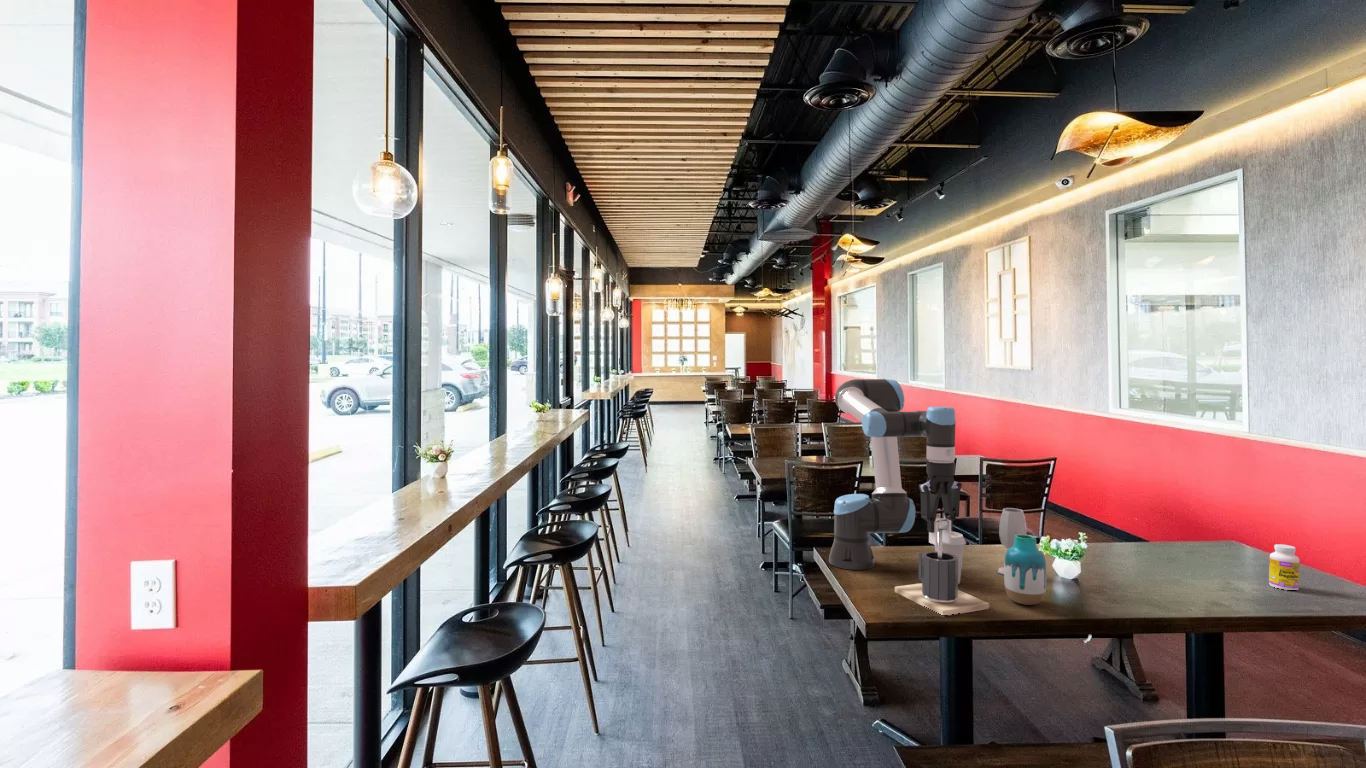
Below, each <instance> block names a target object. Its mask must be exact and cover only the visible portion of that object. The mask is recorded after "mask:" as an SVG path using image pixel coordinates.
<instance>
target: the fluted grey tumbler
mask: <svg viewBox="0 0 1366 768" xmlns="http://www.w3.org/2000/svg"><path fill="white" fill-rule="evenodd" d="M918 581H920V582H921V583H922V596H923V598H924V599H926V600H928V601H930V602H934V603H940V604H952V603H955V602H957V597H958V590H959V584H958V558H957V556H955V555H952V554H949V553H944V552H942V560H938V552H935V551H934V550H933V551H922V552H918Z"/></svg>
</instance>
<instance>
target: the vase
mask: <svg viewBox="0 0 1366 768" xmlns="http://www.w3.org/2000/svg"><path fill="white" fill-rule="evenodd" d="M1037 546H1038V545H1037V538H1036V536H1034V535H1031V534H1027V533H1026V534H1017V535H1015V539H1014V546H1013V547H1011V548H1009V549H1006V552H1005V554H1004V561H1003V563H1004V564H1003V565H1004V566H1003V567H1004V575H1003V579H1004V580H1003V581H1004V583H1003V584H1004V590H1005V593H1006V595H1007V596H1008V598H1009V599H1010V600H1011V601H1013V602H1016V603H1018V604H1021V605H1026V606H1033V605H1039V604H1040V603H1041V602H1042V601H1044V599H1045V595H1046V590H1047V562H1046V557H1045V555H1044V553H1043V552H1042V551H1040V550H1039V549H1038V547H1037Z"/></svg>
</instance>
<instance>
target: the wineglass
mask: <svg viewBox="0 0 1366 768" xmlns="http://www.w3.org/2000/svg"><path fill="white" fill-rule="evenodd" d="M998 527H999V528H998V536H999V540H1000V543H1001V545H1002V546H1004V547H1005V548H1006V550H1008V549H1009V548H1011V547H1013V546H1014V539H1015V535H1017V534H1026V535H1027V522H1026V517H1025V513H1024V511H1023V509H1019V508H1014V507H1004V508H1003V509H1002V512H1001V516H1000V520H999V525H998ZM997 573H998V574H1000V575H1003V576H1004V566H1003V567H998V569H997Z"/></svg>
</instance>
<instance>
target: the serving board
mask: <svg viewBox="0 0 1366 768" xmlns="http://www.w3.org/2000/svg"><path fill="white" fill-rule="evenodd" d="M894 592H895V593H896V594H899V595H900V596H902V597H904V598H905V599H908V600H910V601H912V602H914V603H916V604H918V605H920V606H922V607H924V606H925V607H924V608H926V607H927V608H926V609H928V608H929V609H928V610H930V609H931V610H930V611H932V610H933V611H932V612H934V611H935V612H934V613H936V612H937V613H936V614H938V613H939V614H941V615H948V616H953V615H952V614H954V615H959V614H958V613H960V614H966V613H971V612H976V611H977V612H978V611H984V610H989V609H990V603H989V602H987V601H985V600H982V599H980V598H979V597H975V596H973V595H971V594H969V593H967V592H964V591H962V590H961V589H960V590H959V589H958V597H957V602H955V603H952V604H940V603H934V602H930V601H928V600H926V599H924V598H923V596H922V582H921V583H913V584H906V585H905V584H904V585H897V586H894ZM939 614H938V615H939ZM941 615H940V616H941Z"/></svg>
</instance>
